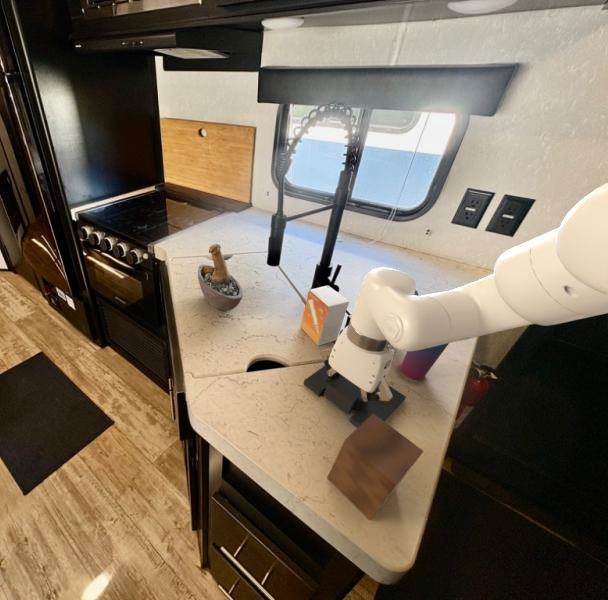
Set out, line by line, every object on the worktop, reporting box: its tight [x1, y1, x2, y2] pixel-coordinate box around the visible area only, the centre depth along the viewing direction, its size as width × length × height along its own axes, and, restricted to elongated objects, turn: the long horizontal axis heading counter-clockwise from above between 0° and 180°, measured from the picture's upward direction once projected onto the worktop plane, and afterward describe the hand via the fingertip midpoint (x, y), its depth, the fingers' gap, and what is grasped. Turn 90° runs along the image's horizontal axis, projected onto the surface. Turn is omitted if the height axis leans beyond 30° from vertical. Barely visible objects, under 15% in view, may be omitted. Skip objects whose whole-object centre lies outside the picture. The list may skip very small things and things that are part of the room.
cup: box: [399, 343, 450, 381], centre depth 70 cm, size 7×7×15 cm
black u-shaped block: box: [303, 365, 407, 429], centre depth 69 cm, size 16×14×2 cm
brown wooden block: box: [326, 413, 424, 521], centre depth 50 cm, size 8×8×12 cm
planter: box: [197, 243, 244, 312], centre depth 91 cm, size 15×17×20 cm
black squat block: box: [323, 374, 361, 416], centre depth 66 cm, size 6×6×4 cm
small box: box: [300, 285, 350, 346], centre depth 82 cm, size 8×6×13 cm
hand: (344, 396), depth 67 cm, fingers closed on black squat block, 6 cm apart
